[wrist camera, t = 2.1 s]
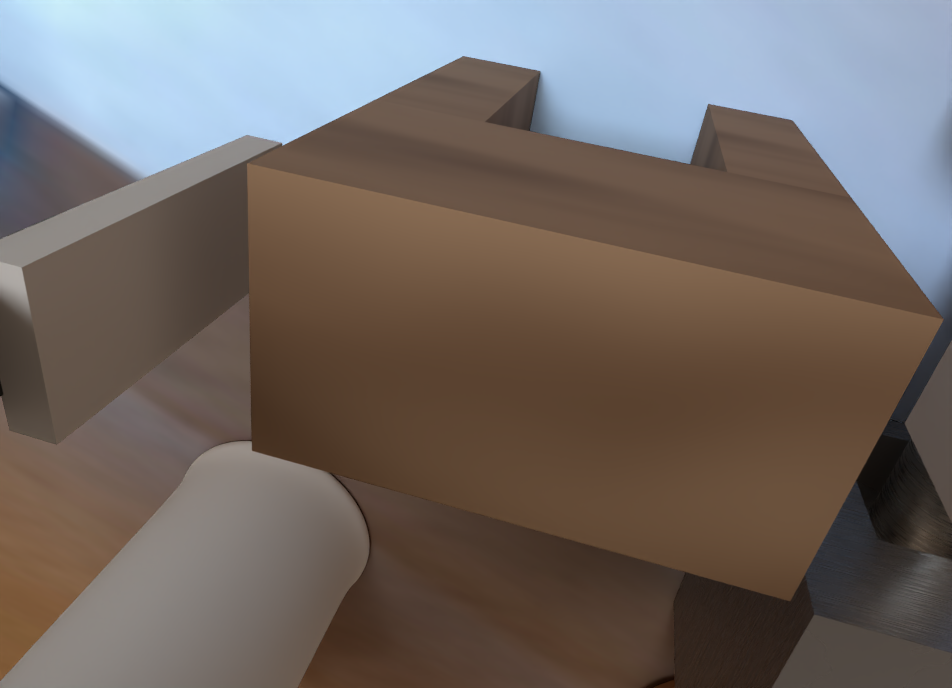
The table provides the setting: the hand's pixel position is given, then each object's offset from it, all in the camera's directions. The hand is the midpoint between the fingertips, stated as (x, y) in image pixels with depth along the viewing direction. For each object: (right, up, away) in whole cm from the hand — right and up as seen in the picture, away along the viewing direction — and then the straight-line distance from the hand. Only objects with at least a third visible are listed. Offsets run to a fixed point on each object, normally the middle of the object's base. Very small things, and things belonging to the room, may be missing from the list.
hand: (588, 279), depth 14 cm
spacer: (+1, +4, +7) cm, 8 cm away
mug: (-11, -10, +18) cm, 23 cm away
